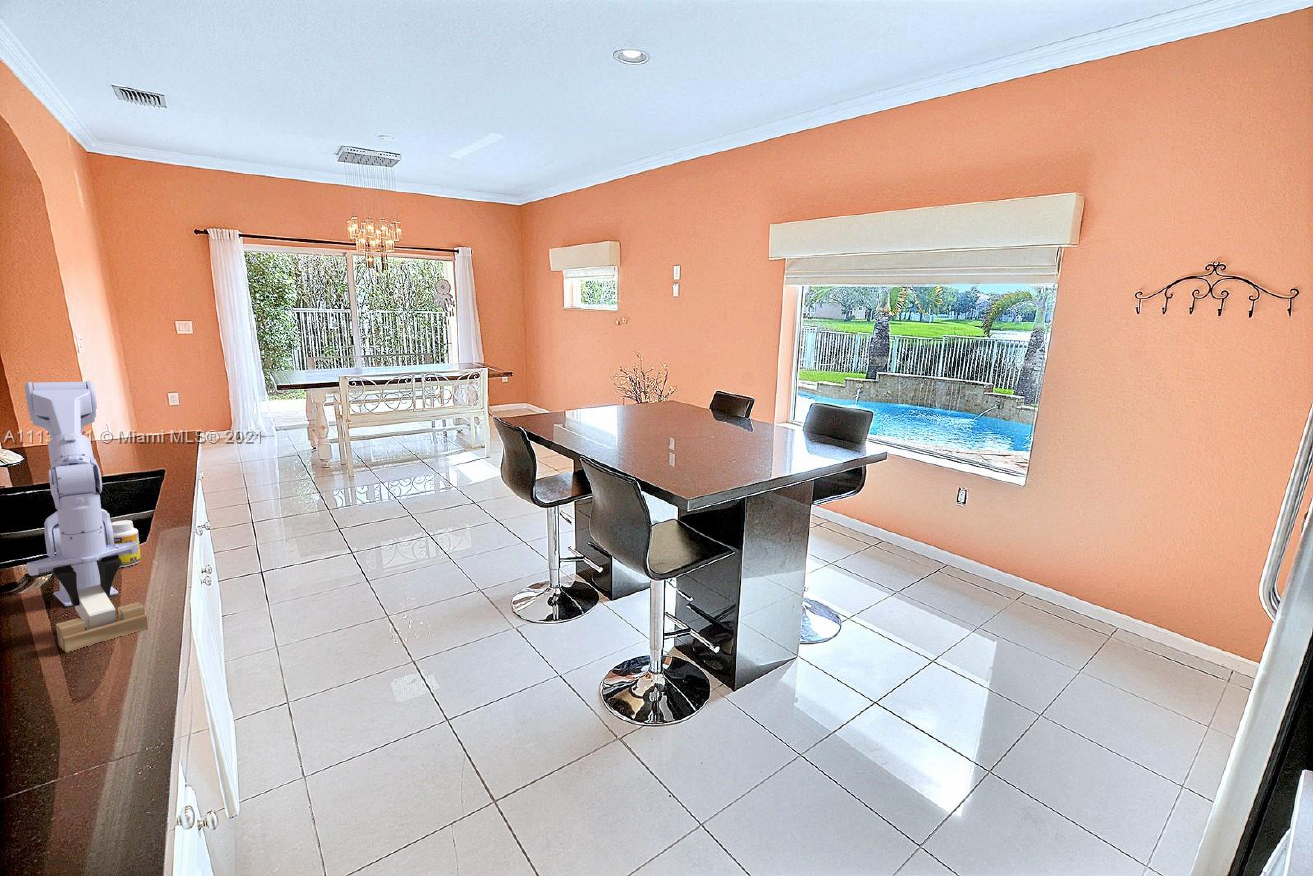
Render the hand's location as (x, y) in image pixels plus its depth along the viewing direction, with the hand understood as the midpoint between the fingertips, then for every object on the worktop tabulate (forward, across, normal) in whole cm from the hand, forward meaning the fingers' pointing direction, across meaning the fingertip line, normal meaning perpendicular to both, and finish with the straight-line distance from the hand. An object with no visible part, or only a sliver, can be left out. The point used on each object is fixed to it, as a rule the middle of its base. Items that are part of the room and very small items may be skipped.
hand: (90, 600), depth 110 cm
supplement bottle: (+5, +13, +33) cm, 35 cm away
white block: (+3, 0, -1) cm, 3 cm away
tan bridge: (+5, 0, -6) cm, 8 cm away
